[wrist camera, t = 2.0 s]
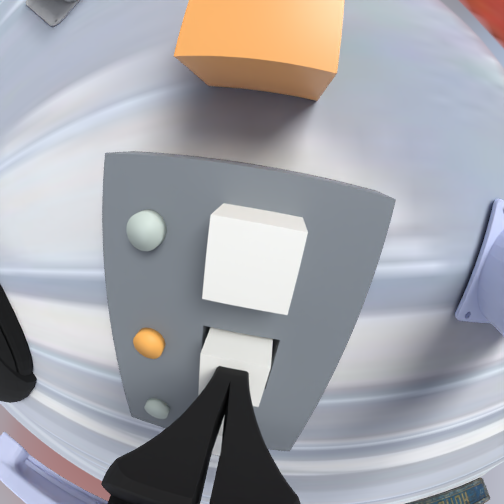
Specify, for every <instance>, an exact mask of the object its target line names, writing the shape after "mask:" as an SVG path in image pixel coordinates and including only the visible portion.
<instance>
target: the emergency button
mask: <svg viewBox="0 0 504 504" xmlns="http://www.w3.org/2000/svg"><path fill="white" fill-rule="evenodd" d="M79 1H80V0H27V1H26V5H27V6H28V7H29V8H31V9H32V10H33V11H34V12H35V13H36V14H38V15H39V16H40V17H41V18H42V19H43V20H44V21H46V22H47V23H48V24H49V25H50V26H56V25H57V24H59V23H60V22H61V21H62V20H63V19H64V18H65V17H66V16H67V15H68V14H69V12H70V11H71V10H72V9H73V8H74V7H75V5H76V4H77V3H78V2H79Z"/></svg>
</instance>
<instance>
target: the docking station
mask: <svg viewBox="0 0 504 504" xmlns="http://www.w3.org/2000/svg"><path fill="white" fill-rule="evenodd" d="M32 367H33V366H32V359H31V355H30V352H29V349H28V345H27V343H26V340H25V338H24V335H23V333H22V330H21V328H20V326H19V323H18V321H17V319H16V317H15V314H14V312H13V310H12V308H11V306H10V304H9V302H8V300H7V298H6V296H5V294H4V292H3V290H2V288H1V286H0V401H4V402H9V403H11V402H17V401H21V400H23V399H24V398H26V397H27V396H28V395H29V394H30V392H31V391H32V389H33V388H34V386H35V383H36V377H35V375H34V374H33V372H32Z"/></svg>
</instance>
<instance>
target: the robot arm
mask: <svg viewBox="0 0 504 504" xmlns="http://www.w3.org/2000/svg"><path fill="white" fill-rule="evenodd" d="M503 208H504V200H502V199H496V200H495V201H494V204H493V207H492V212H491V216H490V220H489V223H488V227H487V231H486V234H485V237H484V241H483V244H482V247H481V250H480V253H479V256H478V259H477V262H476V265H475V267H474V270H473V273H472V275H471V278H470V280H469V283H468V285H467V288H466V290H465V292H464V295H463V297H462V299H461V301H460V304H459V306H458V308H457V310H456V313H455V317H456V318H457V320H459V321H467V322H478V323H491V324H492V325H493V326H494V327H495V328H496V329H497V330H498V331H499V332H500V333H501V335H502V336H503V337H504V211H503ZM466 313H467V314H466ZM224 415H225V416H224ZM223 418H224V425H223V435H222V444H221V453H220V458H219V462H218V467H217V471H216V476H215V480H214V485H213V489H212V494H211V498H210V504H300V501H299V498H298V496H297V495H296V494H295V492H294V491H293V490H292V488H291V487H290V486H289V484H288V483H287V482H286V480H285V479H284V477H283V476H282V474H281V473H280V471H279V469H278V467H277V466H276V464H275V462H274V460H273V459H272V457H271V455H270V453H269V451H268V449H267V446H266V444H265V442H264V440H263V437H262V435H261V432H260V429H259V426H258V423H257V420H256V417H255V413H254V409H253V405H252V400H251V395H250V388H249V373H248V372H247V371H243V370H238V369H232V368H227V367H223V366H218V367H217V368H216V370H215V372H214V374H213V376H212V378H211V379H210V381H209V382H208V384H207V385H206V387H205V388H204V389H203V391H202V392H201V393H200V395H199V396H198V397H197V398H196V400H195V401H194V402H193V403H192V404H191V405H190V406H189V407H188V409H187V410H186V411H185V412H184V413H183V414H182V415H181V416H180V417H179V418H178V419H177V420H175V421H174V422H173V423H172V424H171V425H170V426H169V427H167V428H166V429H165V430H164V431H162V432H161V433H160V434H158V435H157V436H156V437H154V438H153V439H151V440H150V441H148V442H147V443H145V444H143V445H142V446H140V447H139V448H137V449H135V450H133V451H131V452H129V453H127V454H125V455H123V456H121V457H119V458H117V459H116V460H115V461H114V462H113V464H112V465H111V466H110V467H109V469H108V470H107V472H106V474H105V476H104V478H103V481H102V486H103V487H104V488H105V489H106V490H107V491H108V492H109V493H110V494H111V496H110V499H109V501H106V500H104V499H102V498H99V497H98V496H96V495H94V494H91V493H90V492H88V491H86V490H84V489H82V488H80V487H78V486H77V485H75V484H73V483H71V482H70V481H68V480H66V479H65V478H63V477H61V476H60V475H58V474H57V473H55V472H54V471H52V470H51V469H49V468H48V467H46V466H44V465H43V464H42V463H40V462H39V461H37V460H36V459H35V458H33V457H32V456H31V455H29V454H28V452H27V451H26V450H25V449H24V448H23V447H22V446H21V445H20V444H18V443H17V442H16V441H15V440H14V439H12V438H11V437H10V436H9V435H8V434H7V433H6V432H3V433H2V435H1V436H0V480H1V481H2V482H3V483H4V484H5V485H6V486H7V487H8V488H9V489H10V490H11V491H13V492H14V493H15V494H16V495H17V496H18V497H19V498H20V499H22V500H23V501H24V502H25V503H27V504H200V501H201V497H202V492H203V488H204V483H205V479H206V474H207V470H208V466H209V461H210V457H211V454H212V451H213V448H214V445H215V442H216V439H217V436H218V433H219V430H220V427H221V424H222V421H223Z"/></svg>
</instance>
